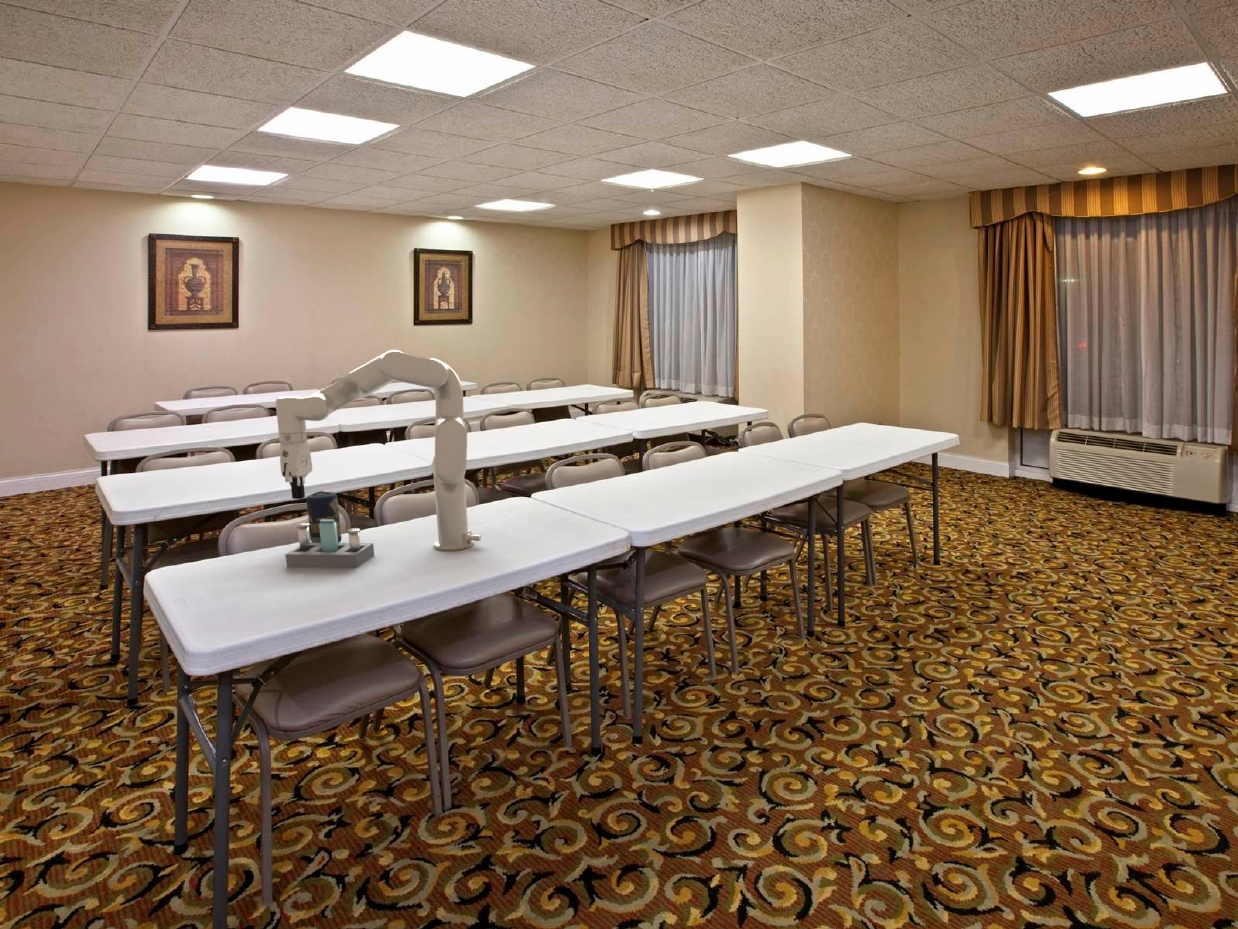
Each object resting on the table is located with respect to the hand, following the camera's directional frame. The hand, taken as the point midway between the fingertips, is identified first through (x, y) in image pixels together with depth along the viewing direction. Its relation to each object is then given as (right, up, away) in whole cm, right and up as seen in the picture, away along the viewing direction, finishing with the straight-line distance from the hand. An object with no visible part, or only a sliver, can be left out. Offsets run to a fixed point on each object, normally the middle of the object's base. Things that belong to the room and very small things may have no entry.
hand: (298, 498), depth 224 cm
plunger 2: (+17, -18, +2) cm, 25 cm away
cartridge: (+9, -19, +3) cm, 22 cm away
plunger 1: (+1, -17, +3) cm, 17 cm away
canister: (0, -16, +21) cm, 26 cm away
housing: (+9, -19, +3) cm, 22 cm away
